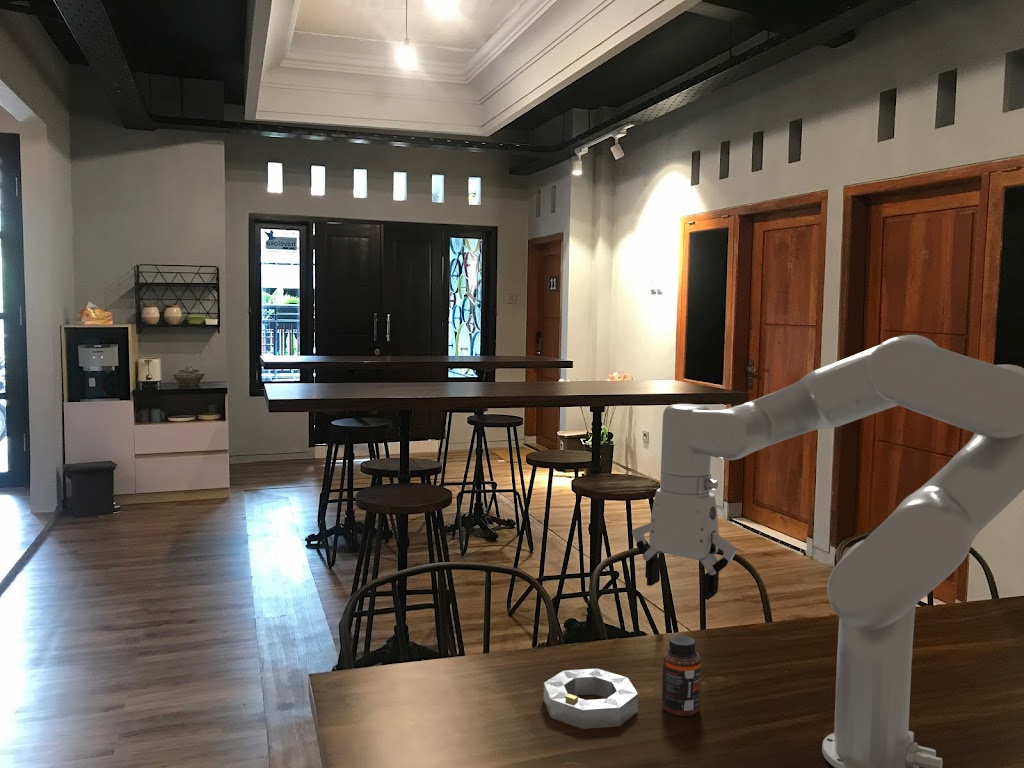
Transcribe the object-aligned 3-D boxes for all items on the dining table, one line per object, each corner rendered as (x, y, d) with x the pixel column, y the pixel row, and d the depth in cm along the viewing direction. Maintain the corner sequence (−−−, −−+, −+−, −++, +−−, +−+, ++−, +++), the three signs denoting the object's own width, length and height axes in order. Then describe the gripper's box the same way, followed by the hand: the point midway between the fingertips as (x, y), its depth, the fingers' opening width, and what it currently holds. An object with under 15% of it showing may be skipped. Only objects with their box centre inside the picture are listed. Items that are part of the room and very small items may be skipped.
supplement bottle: (700, 719, 129) (701, 649, 128) (661, 715, 130) (662, 645, 129) (699, 702, 135) (701, 634, 134) (662, 698, 136) (663, 631, 135)
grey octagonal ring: (649, 702, 135) (650, 680, 135) (605, 737, 124) (606, 713, 123) (576, 679, 143) (576, 658, 143) (528, 710, 132) (528, 687, 132)
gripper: (747, 487, 127) (742, 596, 129) (646, 472, 138) (642, 573, 139) (728, 496, 121) (723, 609, 123) (624, 479, 132) (620, 584, 133)
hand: (680, 590), depth 131 cm, fingers open, 9 cm apart
